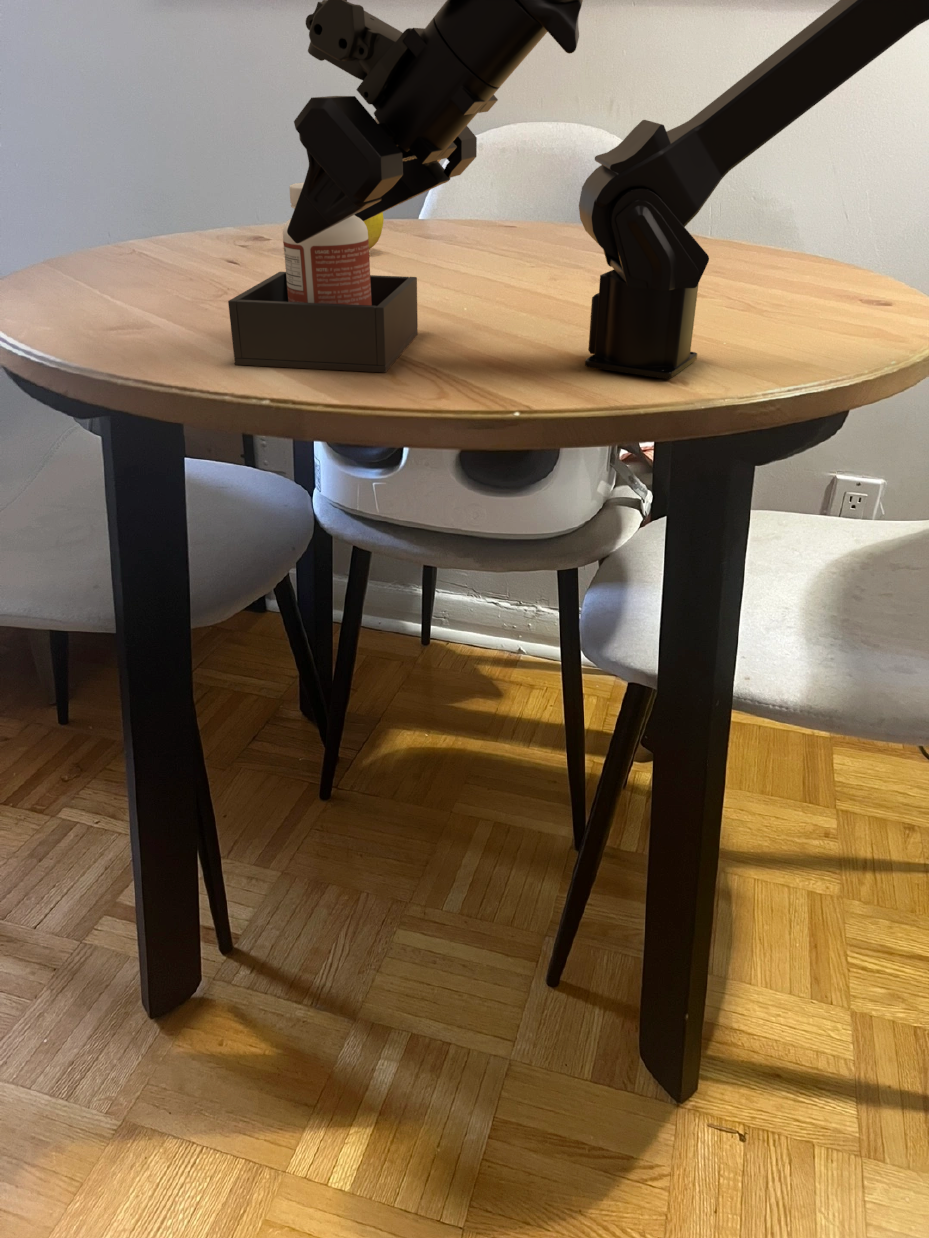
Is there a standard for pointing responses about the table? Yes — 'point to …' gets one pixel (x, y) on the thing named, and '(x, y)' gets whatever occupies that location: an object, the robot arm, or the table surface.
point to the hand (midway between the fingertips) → (322, 228)
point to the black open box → (324, 327)
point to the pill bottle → (328, 263)
